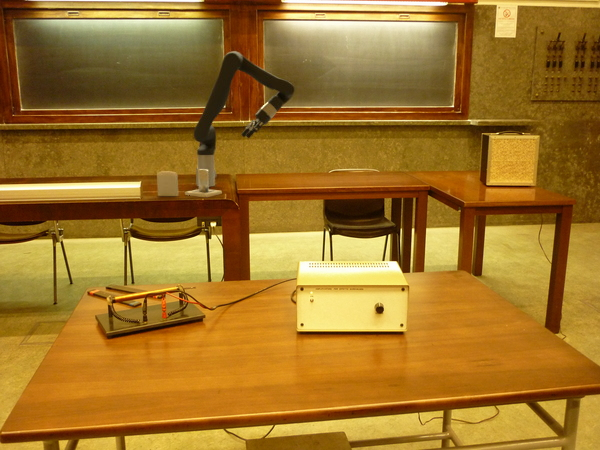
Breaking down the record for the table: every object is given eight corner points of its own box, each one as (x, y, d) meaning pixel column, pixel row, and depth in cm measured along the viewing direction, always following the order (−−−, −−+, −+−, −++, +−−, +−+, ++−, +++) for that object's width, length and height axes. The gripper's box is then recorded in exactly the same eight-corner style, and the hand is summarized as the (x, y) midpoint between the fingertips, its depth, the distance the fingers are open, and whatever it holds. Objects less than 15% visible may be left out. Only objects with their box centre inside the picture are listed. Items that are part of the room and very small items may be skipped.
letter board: (185, 195, 292) (185, 191, 291) (201, 191, 303) (201, 188, 303) (205, 197, 286) (205, 194, 285) (221, 193, 297) (221, 190, 296)
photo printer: (156, 196, 287) (155, 171, 284) (159, 194, 291) (158, 170, 288) (177, 196, 286) (176, 171, 284) (179, 195, 291) (178, 170, 288)
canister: (196, 191, 293) (196, 169, 291) (202, 190, 297) (202, 168, 295) (204, 192, 291) (204, 170, 288) (210, 190, 295) (210, 169, 293)
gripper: (257, 107, 304) (235, 130, 302) (265, 108, 291) (243, 132, 289) (266, 118, 307) (245, 140, 305) (275, 119, 294) (253, 142, 292)
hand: (244, 136), depth 297 cm, fingers open, 8 cm apart
